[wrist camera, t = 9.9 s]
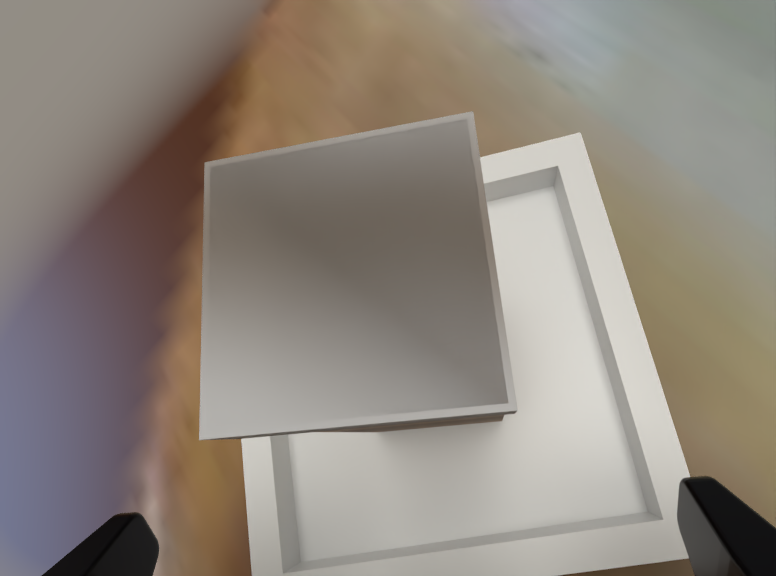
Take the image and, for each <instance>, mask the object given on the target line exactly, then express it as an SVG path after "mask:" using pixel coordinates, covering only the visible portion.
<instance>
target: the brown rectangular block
mask: <svg viewBox="0 0 776 576" xmlns="http://www.w3.org/2000/svg"><path fill="white" fill-rule="evenodd" d="M517 411H518V409H517V403H516V396H515V389H514V383H513V376H512V369H511V363H510V356H509V349H508V342H507V336H506V329H505V322H504V316H503V309H502V302H501V296H500V289H499V282H498V275H497V269H496V262H495V255H494V249H493V242H492V235H491V228H490V222H489V215H488V208H487V202H486V195H485V188H484V182H483V175H482V168H481V161H480V155H479V148H478V141H477V135H476V128H475V121H474V115H473V111H472V112H467V113H462V114H457V115H451V116H446V117H441V118H436V119H430V120H425V121H420V122H415V123H409V124H404V125H399V126H394V127H388V128H383V129H378V130H373V131H367V132H362V133H357V134H352V135H346V136H341V137H336V138H331V139H325V140H320V141H315V142H310V143H305V144H299V145H294V146H289V147H284V148H278V149H273V150H268V151H263V152H257V153H252V154H247V155H242V156H236V157H231V158H226V159H221V160H215V161H210V162H205V174H204V225H203V276H202V328H201V379H200V430H199V440H216V439H244V438H255V437H266V436H277V435H288V434H299V433H310V432H386V431H397V430H408V429H419V428H431V427H442V426H453V425H464V424H475V423H487V422H498V421H502V420H503V417H504V415H506V414H515V413H516V412H517Z"/></svg>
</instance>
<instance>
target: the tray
mask: <svg viewBox="0 0 776 576" xmlns="http://www.w3.org/2000/svg"><path fill="white" fill-rule="evenodd" d="M480 161H481V168H482V175H483V182H484V188H485V195H486V202H487V208H488V215H489V222H490V228H491V235H492V242H493V249H494V255H495V262H496V269H497V275H498V282H499V289H500V296H501V302H502V309H503V316H504V322H505V329H506V336H507V342H508V349H509V356H510V363H511V369H512V376H513V383H514V389H515V396H516V403H517V409H518V411H517V412H516V413H515V414H506V415H504V417H503V420H502V421H498V422H487V423H475V424H464V425H453V426H442V427H431V428H419V429H408V430H397V431H386V432H310V433H299V434H288V435H277V436H266V437H255V438H244V439H241V441H242V454H243V467H244V480H245V493H246V506H247V519H248V532H249V545H250V558H251V570H252V576H558V575H565V574H573V573H581V572H588V571H596V570H604V569H611V568H619V567H627V566H634V565H642V564H650V563H657V562H665V561H673V560H680V559H688V558H689V556H688V554H687V551H686V548H685V545H684V542H683V539H682V536H681V533H680V530H679V526H678V521H677V506H678V493H679V484H680V481H681V479H683V478H685V477H690V474H689V471H688V468H687V465H686V462H685V459H684V455H683V452H682V449H681V446H680V443H679V440H678V437H677V433H676V430H675V427H674V424H673V421H672V418H671V415H670V412H669V408H668V405H667V402H666V399H665V396H664V393H663V390H662V386H661V383H660V380H659V377H658V374H657V371H656V368H655V365H654V361H653V358H652V355H651V352H650V349H649V346H648V343H647V339H646V336H645V333H644V330H643V327H642V324H641V321H640V317H639V314H638V311H637V308H636V305H635V302H634V299H633V296H632V292H631V289H630V286H629V283H628V280H627V277H626V274H625V270H624V267H623V264H622V261H621V258H620V255H619V252H618V248H617V245H616V242H615V239H614V236H613V233H612V230H611V227H610V223H609V220H608V217H607V214H606V211H605V208H604V205H603V201H602V198H601V195H600V192H599V189H598V186H597V183H596V179H595V176H594V173H593V170H592V167H591V164H590V161H589V158H588V154H587V151H586V148H585V145H584V142H583V139H582V136H581V132H580V133H576V134H572V135H568V136H564V137H560V138H556V139H552V140H548V141H544V142H540V143H536V144H532V145H528V146H524V147H520V148H516V149H512V150H508V151H504V152H500V153H496V154H492V155H489V156H485V157H481V158H480Z"/></svg>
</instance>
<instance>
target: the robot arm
mask: <svg viewBox="0 0 776 576" xmlns="http://www.w3.org/2000/svg"><path fill="white" fill-rule="evenodd" d="M677 521H678V526H679V530H680V533H681V536H682V539H683V542H684V545H685V548H686V551H687V554H688V556H689V559H690V562H691V565H692V568H693V571H694V574H695V576H776V528H775V527H774V526H773V525H771V524H770V523H769V522H768V521H766V520H765V519H764V518H763V517H761V516H760V515H759V514H758V513H756V512H755V511H754V510H753V509H751V508H750V507H749V506H748V505H746V504H745V503H744V502H743V501H742V500H740V499H739V498H738V497H737V496H735V495H734V494H733V493H732V492H730V491H729V490H728V489H727V488H725V487H724V486H723V485H722V484H720V483H719V482H718V481H717V480H715V479H714V478H711V477H709V476H700V477H685V478H683V479H681V481H680V484H679V493H678V506H677ZM158 554H159V544H158V540H157V538H156V537H155V535H154V533H153V532H152V530H151V528H150V527H149V525H148V524H147V522H146V520H145V519H144V517H143V516H142V515H141V514H140V513H137V512H132V513H120V514H117V515H114V516H113V517H112V518H110V519H109V520H108V521H107V522H105V523H104V524H103V525H102V526H101V527H99V528H98V529H97V530H96V531H95V532H94V533H92V534H91V535H90V536H89V537H88V538H86V539H85V540H84V541H83V542H81V543H80V544H79V545H78V546H77V547H76V548H74V549H73V550H72V551H71V552H70V553H68V554H67V555H66V556H65V557H64V558H62V559H61V560H60V561H59V562H58V563H56V564H55V565H54V566H53V567H52V568H50V569H49V570H48V571H47V572H46V573H44V574H43V575H42V576H153V572H154V569H155V565H156V562H157V558H158Z"/></svg>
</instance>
